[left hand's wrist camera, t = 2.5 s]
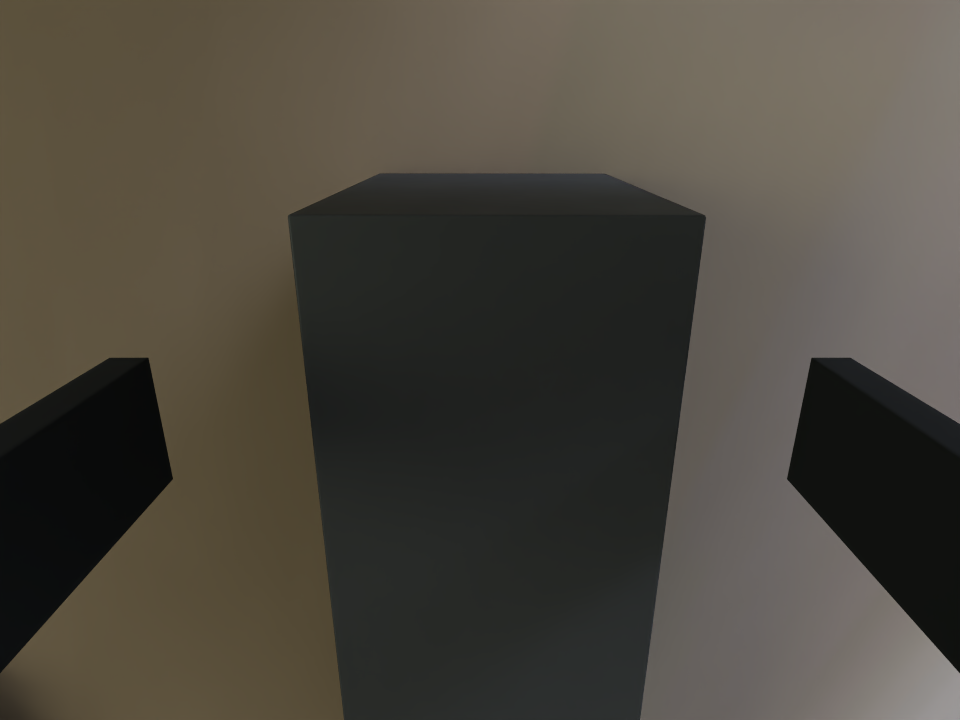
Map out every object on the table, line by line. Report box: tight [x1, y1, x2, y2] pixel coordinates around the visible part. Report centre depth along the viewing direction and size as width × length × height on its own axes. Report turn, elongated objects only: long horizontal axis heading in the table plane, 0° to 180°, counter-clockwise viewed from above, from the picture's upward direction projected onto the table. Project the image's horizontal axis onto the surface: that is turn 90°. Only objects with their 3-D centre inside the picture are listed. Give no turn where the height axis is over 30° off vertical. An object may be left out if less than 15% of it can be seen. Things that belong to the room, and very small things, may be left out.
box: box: [288, 174, 706, 720], centre depth 21 cm, size 28×8×10 cm, turn 0°
